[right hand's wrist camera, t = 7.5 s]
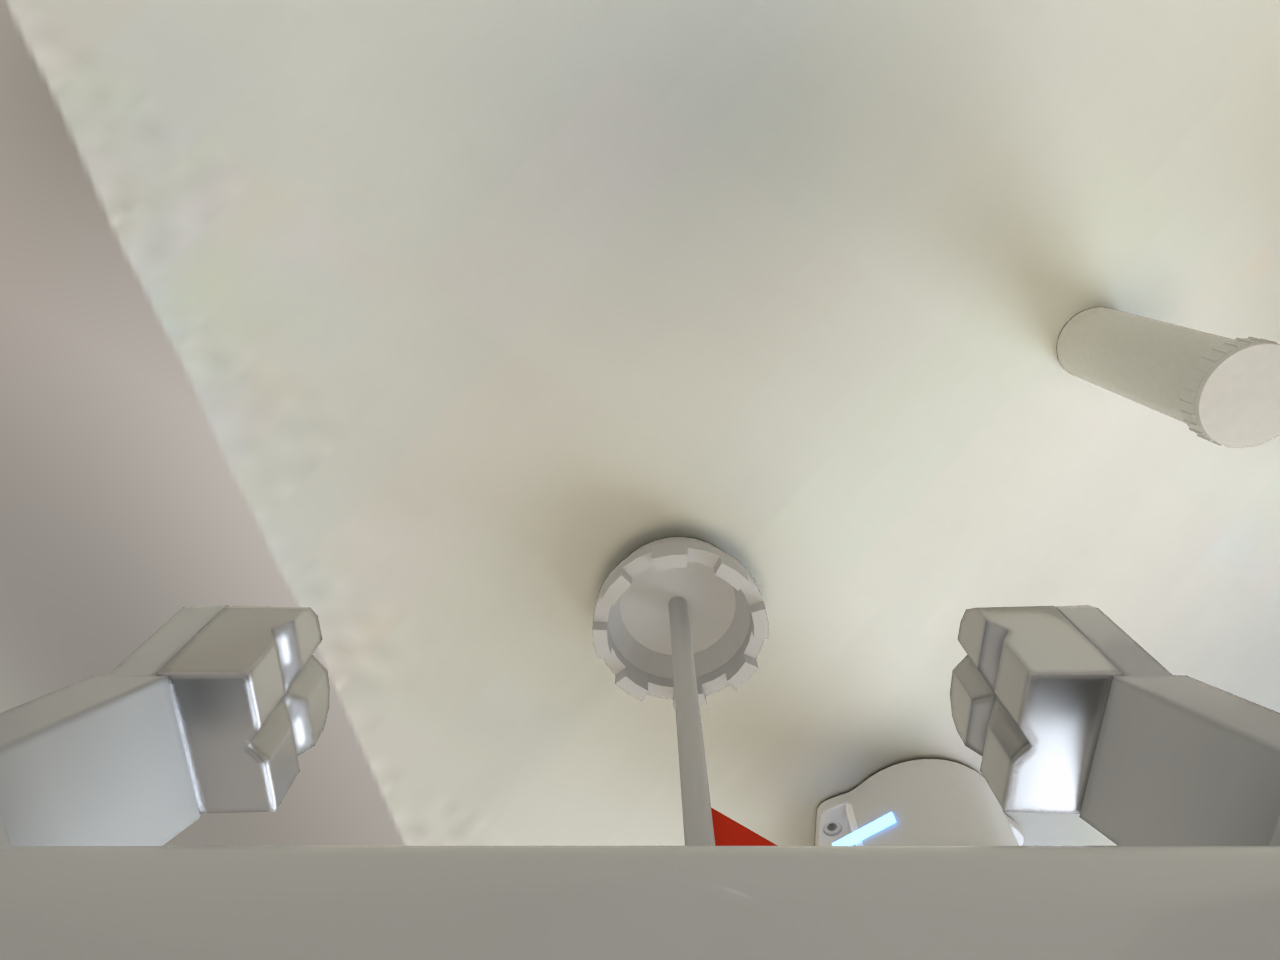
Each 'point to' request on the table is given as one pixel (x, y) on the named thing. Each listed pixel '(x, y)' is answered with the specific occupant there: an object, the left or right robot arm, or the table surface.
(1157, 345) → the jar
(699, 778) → the flag stand
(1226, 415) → the lid
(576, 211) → the table surface
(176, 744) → the right robot arm
